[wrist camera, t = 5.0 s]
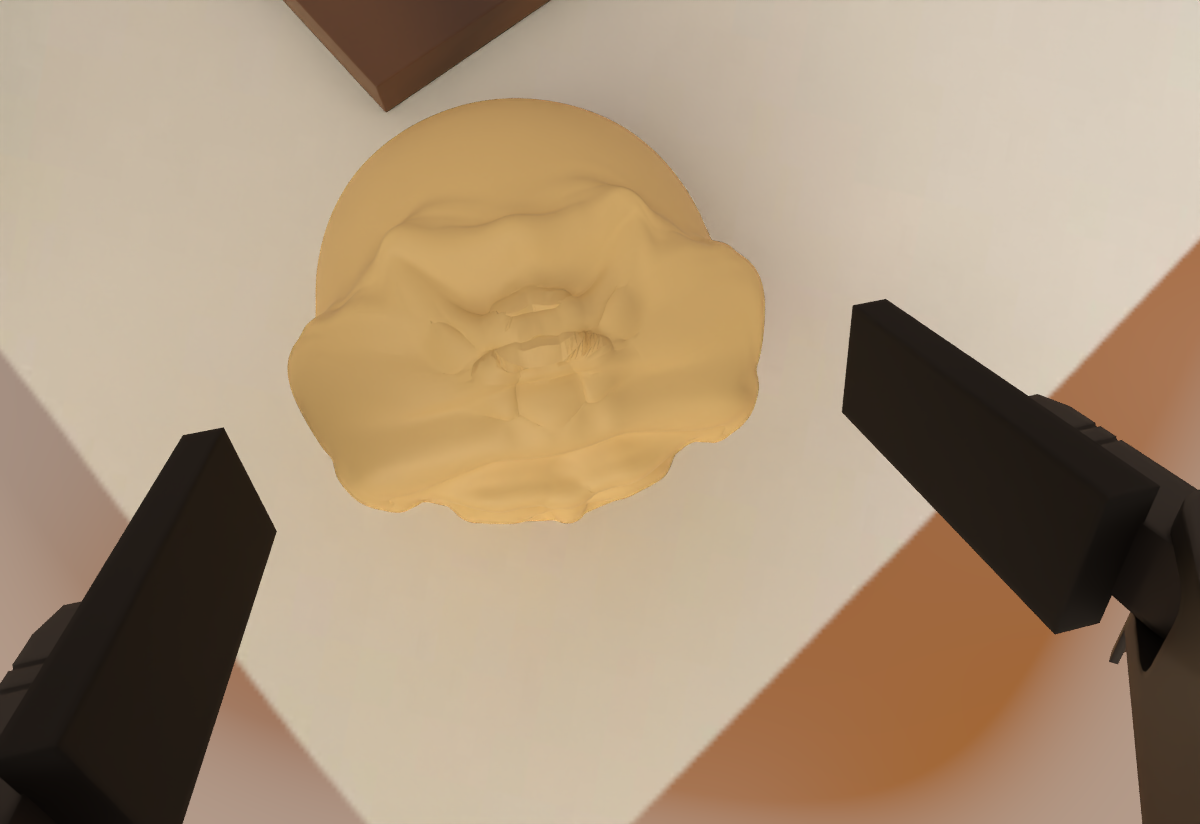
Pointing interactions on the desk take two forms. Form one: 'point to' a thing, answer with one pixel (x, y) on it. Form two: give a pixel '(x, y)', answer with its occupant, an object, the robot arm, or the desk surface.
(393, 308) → the sculpture
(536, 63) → the desk surface
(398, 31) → the cutting board
